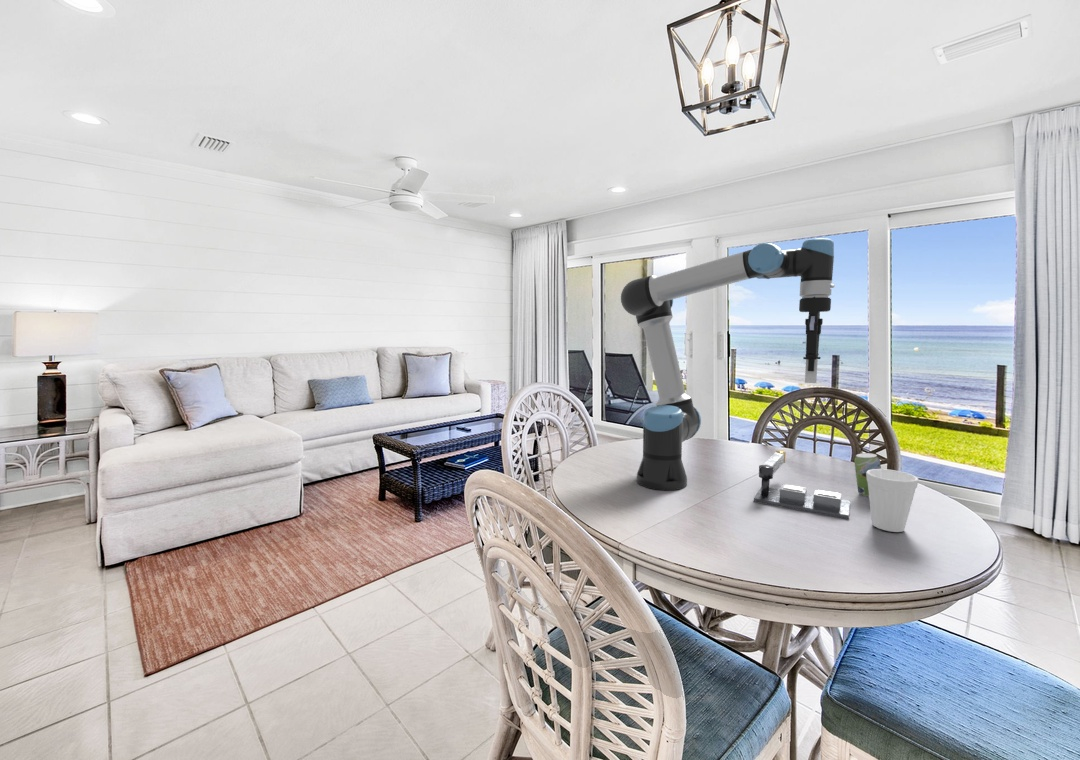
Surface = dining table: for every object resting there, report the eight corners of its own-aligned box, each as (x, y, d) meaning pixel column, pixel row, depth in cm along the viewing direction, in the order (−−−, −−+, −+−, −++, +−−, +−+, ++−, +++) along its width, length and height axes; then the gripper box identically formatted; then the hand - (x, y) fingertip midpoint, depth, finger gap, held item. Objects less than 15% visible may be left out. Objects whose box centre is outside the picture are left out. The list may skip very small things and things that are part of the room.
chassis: (753, 501, 131) (754, 481, 130) (761, 489, 141) (762, 470, 140) (848, 519, 119) (850, 497, 118) (849, 504, 128) (851, 483, 128)
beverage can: (887, 500, 131) (890, 457, 130) (858, 498, 133) (861, 456, 132) (876, 492, 138) (879, 452, 136) (848, 490, 139) (851, 450, 138)
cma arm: (771, 480, 131) (771, 469, 130) (757, 477, 133) (757, 466, 133) (787, 461, 149) (787, 451, 148) (774, 459, 151) (775, 449, 150)
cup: (917, 540, 106) (922, 484, 105) (863, 531, 112) (867, 477, 110) (911, 525, 115) (915, 472, 113) (861, 516, 120) (865, 466, 119)
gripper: (829, 295, 123) (824, 385, 125) (832, 297, 133) (827, 381, 136) (797, 296, 127) (792, 384, 129) (802, 299, 138) (798, 379, 140)
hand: (810, 382), depth 133 cm, fingers closed
